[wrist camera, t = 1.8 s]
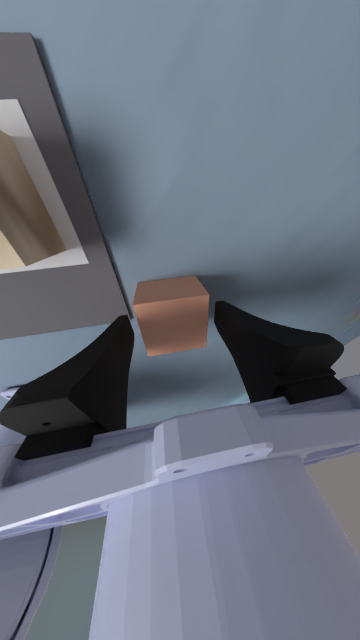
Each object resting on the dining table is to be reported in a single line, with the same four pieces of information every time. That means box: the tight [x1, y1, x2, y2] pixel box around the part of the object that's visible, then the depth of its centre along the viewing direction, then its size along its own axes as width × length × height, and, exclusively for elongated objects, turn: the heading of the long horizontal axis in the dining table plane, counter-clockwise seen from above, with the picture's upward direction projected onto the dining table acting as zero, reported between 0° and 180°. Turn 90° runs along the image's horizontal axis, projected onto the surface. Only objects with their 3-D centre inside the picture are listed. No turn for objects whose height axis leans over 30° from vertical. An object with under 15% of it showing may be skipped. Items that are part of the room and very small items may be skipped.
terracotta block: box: [133, 276, 209, 357], centre depth 12 cm, size 5×5×4 cm
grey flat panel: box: [0, 32, 131, 340], centre depth 9 cm, size 14×12×1 cm
